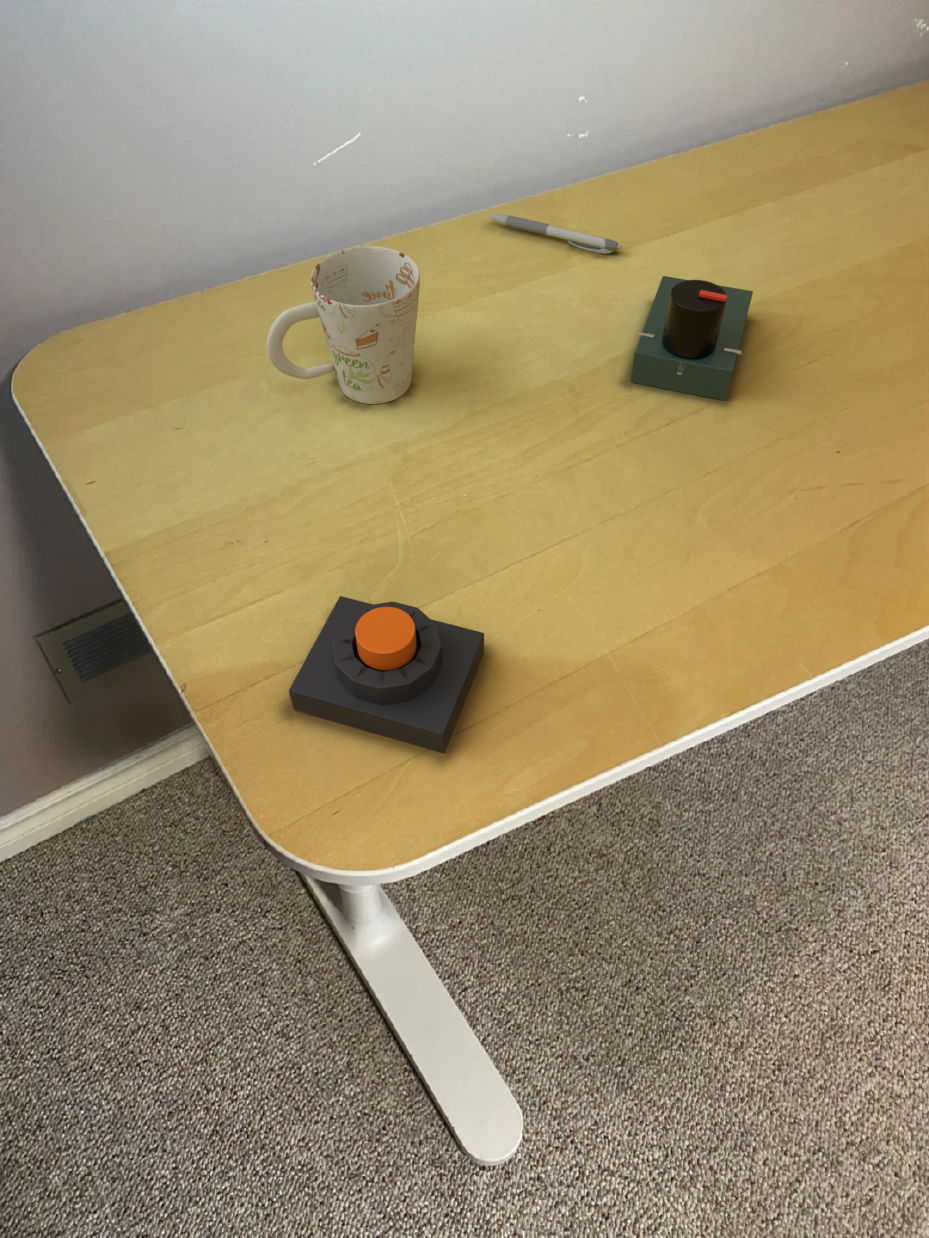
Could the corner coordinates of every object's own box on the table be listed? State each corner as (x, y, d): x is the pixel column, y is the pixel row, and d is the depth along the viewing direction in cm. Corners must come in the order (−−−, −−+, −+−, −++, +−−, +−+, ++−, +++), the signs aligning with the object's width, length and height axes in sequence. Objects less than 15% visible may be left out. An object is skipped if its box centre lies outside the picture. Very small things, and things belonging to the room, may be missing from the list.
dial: (656, 353, 78) (665, 300, 75) (668, 323, 81) (678, 271, 77) (709, 364, 77) (721, 312, 74) (720, 334, 80) (733, 282, 76)
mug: (439, 399, 79) (435, 291, 72) (291, 437, 77) (271, 329, 69) (405, 344, 84) (398, 237, 77) (265, 377, 81) (244, 270, 74)
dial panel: (654, 304, 88) (659, 273, 86) (749, 321, 86) (757, 289, 84) (621, 394, 80) (626, 362, 77) (725, 415, 78) (733, 383, 76)
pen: (618, 258, 93) (620, 245, 92) (487, 227, 97) (487, 213, 96) (622, 253, 93) (623, 240, 92) (491, 222, 97) (491, 209, 96)
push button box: (484, 653, 63) (484, 614, 60) (444, 753, 58) (442, 717, 55) (343, 616, 65) (336, 577, 62) (293, 710, 60) (283, 673, 57)
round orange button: (424, 632, 59) (423, 614, 58) (404, 677, 57) (402, 659, 56) (370, 618, 60) (368, 600, 59) (348, 662, 58) (345, 644, 57)
